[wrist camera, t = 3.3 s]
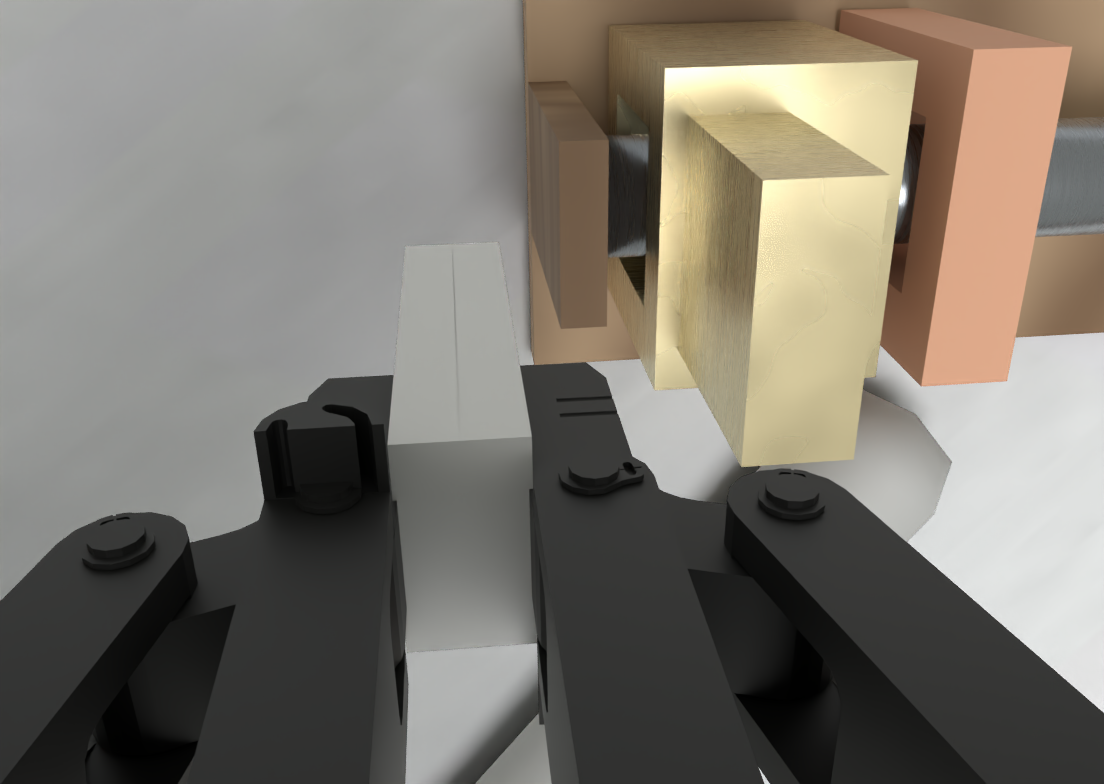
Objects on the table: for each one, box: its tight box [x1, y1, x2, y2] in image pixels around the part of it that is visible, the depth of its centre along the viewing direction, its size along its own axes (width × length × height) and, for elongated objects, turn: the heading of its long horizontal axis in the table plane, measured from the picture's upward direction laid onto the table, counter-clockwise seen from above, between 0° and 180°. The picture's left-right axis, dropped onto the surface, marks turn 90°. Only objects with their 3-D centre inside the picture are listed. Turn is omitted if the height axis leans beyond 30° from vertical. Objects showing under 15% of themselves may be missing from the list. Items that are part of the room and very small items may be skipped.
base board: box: [523, 0, 1104, 365], centre depth 26 cm, size 22×12×8 cm, turn 91°
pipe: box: [606, 117, 1104, 258], centre depth 25 cm, size 21×3×3 cm, turn 91°
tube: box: [475, 390, 952, 784], centre depth 35 cm, size 5×5×25 cm
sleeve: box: [607, 20, 918, 467], centre depth 22 cm, size 5×7×12 cm
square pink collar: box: [839, 8, 1072, 386], centre depth 25 cm, size 2×7×7 cm, turn 0°
